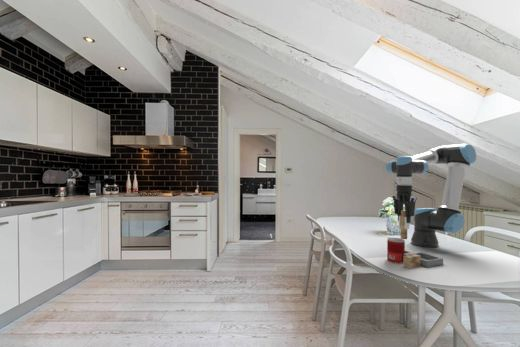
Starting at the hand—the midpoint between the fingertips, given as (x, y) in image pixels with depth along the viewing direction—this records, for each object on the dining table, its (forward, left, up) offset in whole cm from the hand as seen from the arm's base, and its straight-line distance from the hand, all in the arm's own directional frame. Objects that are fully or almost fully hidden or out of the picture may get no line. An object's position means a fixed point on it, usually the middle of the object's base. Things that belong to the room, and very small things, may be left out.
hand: (404, 228), depth 152 cm
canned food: (+10, +4, -16) cm, 19 cm away
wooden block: (+10, +13, -15) cm, 23 cm away
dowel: (0, 0, -6) cm, 6 cm away
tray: (-1, +11, -15) cm, 19 cm away
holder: (0, 0, -15) cm, 15 cm away
